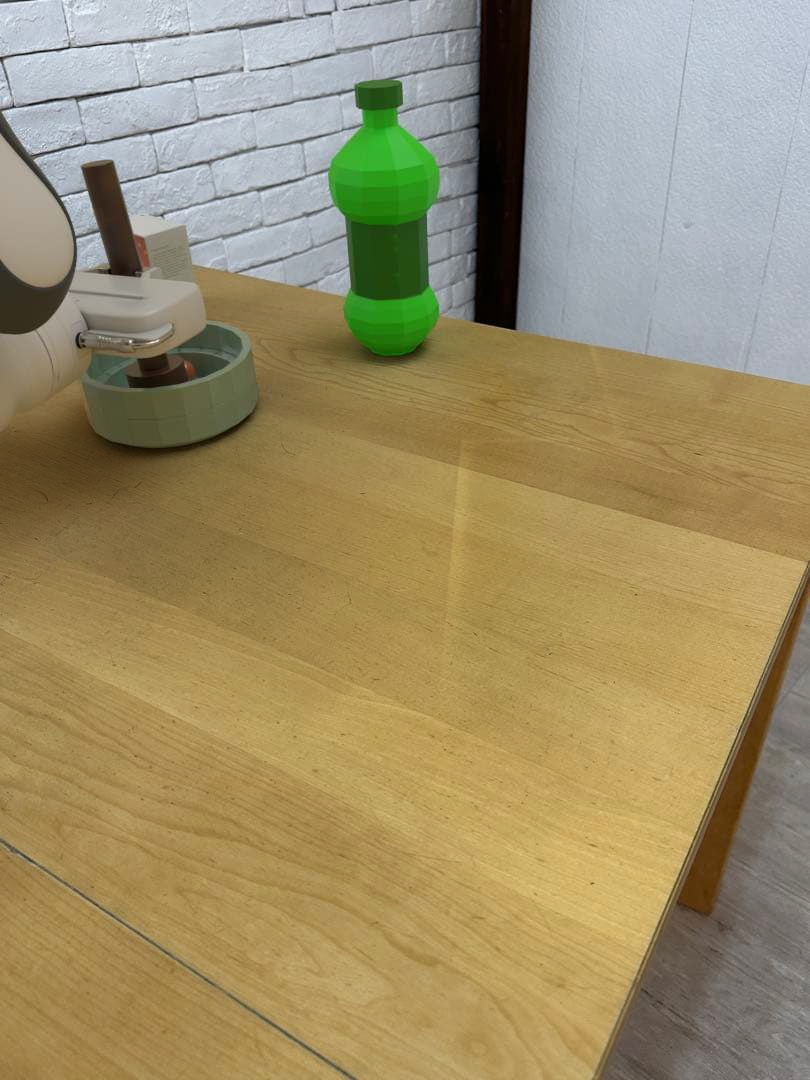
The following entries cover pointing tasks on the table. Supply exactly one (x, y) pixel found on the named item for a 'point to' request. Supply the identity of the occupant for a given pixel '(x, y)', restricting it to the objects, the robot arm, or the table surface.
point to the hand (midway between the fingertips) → (135, 273)
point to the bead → (190, 370)
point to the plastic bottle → (386, 224)
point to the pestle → (126, 265)
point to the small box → (163, 246)
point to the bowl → (175, 393)
